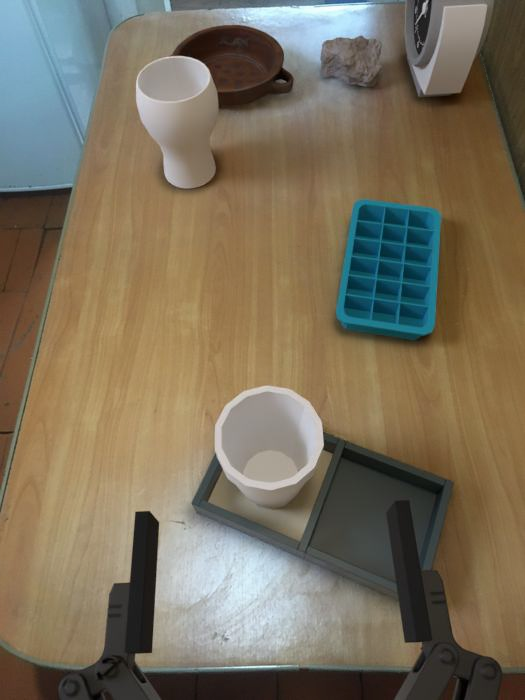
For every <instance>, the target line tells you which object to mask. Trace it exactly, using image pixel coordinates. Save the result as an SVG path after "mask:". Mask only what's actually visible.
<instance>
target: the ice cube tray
mask: <svg viewBox="0 0 525 700" xmlns="http://www.w3.org/2000/svg"><path fill="white" fill-rule="evenodd" d="M441 223H442V214H441V213H440V211H439V210H437V209H436V208H434V207H429V206H420V205H413V204H403V203H397V202H389V201H382V200H374V199H366V198H362V199H358V200H356V201H355V202H354V203H353V204H352V211H351V217H350V224H349V228H348V229H349V230H348V235H347V242H346V248H345V253H344V259H343V266H342V273H341V278H340V284H339V291H338V296H337V303H336V310H335V316H336V318H337V320H338V321H339V322H340V323H341V326H342V327H343V328H344V329H346V331H353V332H359V333H366V334H370V335H379V336H385V337H391V338H397V339H404V340H410V341H416V340H418V339H420V338H421V337H425V336H428V335H431V334H432V332H433V330H434V329H435V326H436V313H437V312H436V311H437V310H436V309H437V295H438V294H437V293H438V292H437V290H438V276H439V275H438V274H439V261H440V260H439V259H440V240H441V227H442V226H441V225H442V224H441Z"/></svg>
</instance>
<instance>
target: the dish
mask: <svg viewBox="0 0 525 700" xmlns="http://www.w3.org/2000/svg"><path fill="white" fill-rule="evenodd" d="M170 56H185V57H191V58H194V59H196V60H199V61H200V62H202V63H203V64H205V65H206V67H207V68H208V69H209V71H210V74H211V76H212V79H213V82H214V84H215V87H216V90H217V95H218V104H219V107H240V106H245V105H250V104H252V103H254V102H258V101H259V100H261V99H263V98H264V97H266V96H267V95H285V94H290V92H292V90H293V87H294V79H295V78H294V76H293V74H292V72H291V73H290V71H288V70H286V69H285V68H284V61H285V52H284V49H283V47H282V45H281V44H280V43H279V41H278V40H277V39H276V38H274V37H273V36H272V35H270V34H268V33H267V32H265V31H263V30H261V29H258V28H255V27H252V26H249V25H248V26H247V25H241V24H223V25H215V26H210V27H207V28H204V29H201V30H198V31H196V32H194V33H192V34H191V35H189V36H188V37H186V38H185V39H184V40H182V41H181V42H180V43H179V44H178V45H177V46H176V47H175V48H174V50H173V52H172V54H170V55H169V56H168V57H170ZM278 81H284V82H278Z"/></svg>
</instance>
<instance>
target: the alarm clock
mask: <svg viewBox="0 0 525 700" xmlns="http://www.w3.org/2000/svg"><path fill="white" fill-rule="evenodd" d="M494 5H495V0H405V4H404V22H403V24H404V43H405V45H404V46H405V51H406V54H407V55H406V60H407V64H408V66H409V70H410V73H411V76H412V79H413V83H414V86H415V89H416V93H417V96H418V98H427V97H428V98H429V97H445V96H452V94H461V93H462V90H463V88H464V86H465V83H466V81H467V79H468V76H469V73H470V70H471V68H472V66H473V62H474V60H475V59H476V58H477V57H478V55H479V54H480V51H481V49H482V48H483V45H484V43H485V40H486V38H487V36H488V31H489V28H490V24H491V20H492V15H493V11H494Z"/></svg>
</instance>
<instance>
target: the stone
mask: <svg viewBox="0 0 525 700" xmlns="http://www.w3.org/2000/svg"><path fill="white" fill-rule="evenodd" d="M382 47H383V43H382V41H381V40H378V39H376V38H375V37H373V38H365V37H364V36H363V35H359V36H356V37H354V38H350V37H335V38H333V39H326V40H324V41H323V43H322V44H321V50H320V74H321V75H322V76H323V77H326V78H328V77H336V78H337V79H339V80H341V81H342V82H344V83H345V84H348V85H350V86H356V85H358V86H359V87H364V88H369V87H370V88H371V87H373V86H374V85H376V84H377V81H378V80H379V78H380V75H381V72H382V66H381V60H380V57H381V53H382Z"/></svg>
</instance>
